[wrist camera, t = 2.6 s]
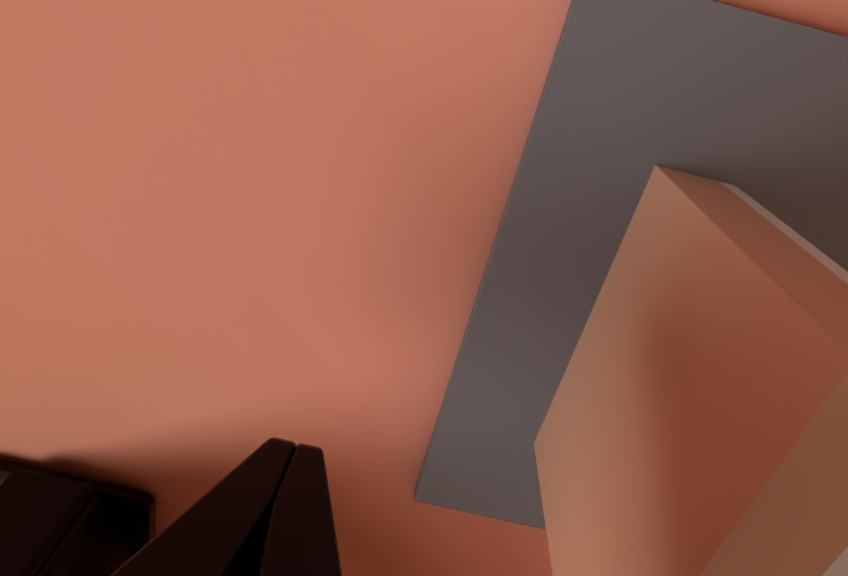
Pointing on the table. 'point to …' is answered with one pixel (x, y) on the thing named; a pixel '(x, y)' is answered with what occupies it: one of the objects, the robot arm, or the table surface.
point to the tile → (703, 400)
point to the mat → (628, 204)
